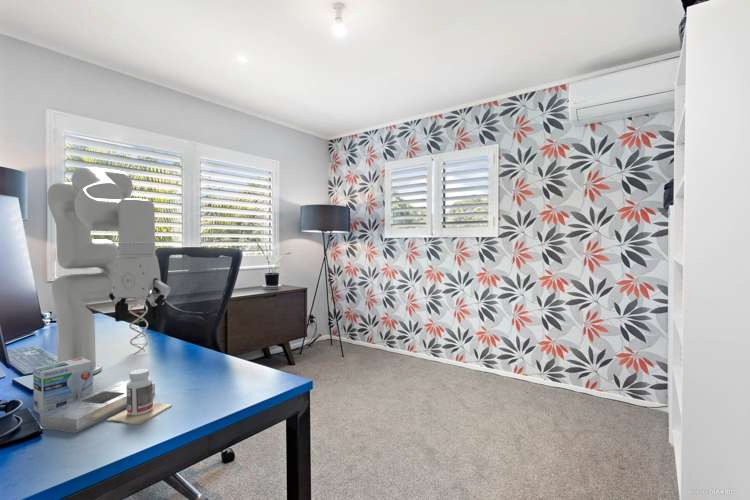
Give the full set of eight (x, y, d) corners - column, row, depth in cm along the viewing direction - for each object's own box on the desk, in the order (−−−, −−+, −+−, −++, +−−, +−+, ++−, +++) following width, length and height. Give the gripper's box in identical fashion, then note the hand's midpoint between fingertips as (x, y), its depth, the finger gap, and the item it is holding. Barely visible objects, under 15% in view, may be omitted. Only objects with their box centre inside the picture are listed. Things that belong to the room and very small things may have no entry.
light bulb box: (43, 417, 91) (41, 372, 91) (32, 411, 95) (31, 367, 94) (94, 401, 100) (93, 360, 100) (83, 396, 104) (82, 356, 104)
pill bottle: (156, 405, 96) (155, 366, 96) (148, 414, 91) (147, 374, 91) (132, 407, 95) (131, 368, 95) (122, 417, 90) (122, 375, 90)
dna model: (139, 350, 148) (137, 272, 147) (153, 351, 146) (151, 272, 146) (124, 355, 141) (122, 274, 141) (139, 356, 140) (137, 274, 139)
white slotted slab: (40, 428, 86) (39, 415, 85) (124, 390, 107) (124, 380, 107) (76, 432, 83) (76, 419, 83) (154, 393, 105) (154, 382, 105)
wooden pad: (106, 420, 89) (106, 419, 89) (141, 403, 99) (141, 401, 99) (139, 424, 87) (139, 422, 87) (171, 406, 97) (171, 404, 97)
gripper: (93, 251, 91) (95, 323, 91) (155, 251, 87) (157, 326, 87) (120, 250, 98) (122, 316, 98) (179, 250, 94) (180, 319, 95)
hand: (138, 321), depth 93 cm, fingers open, 9 cm apart
